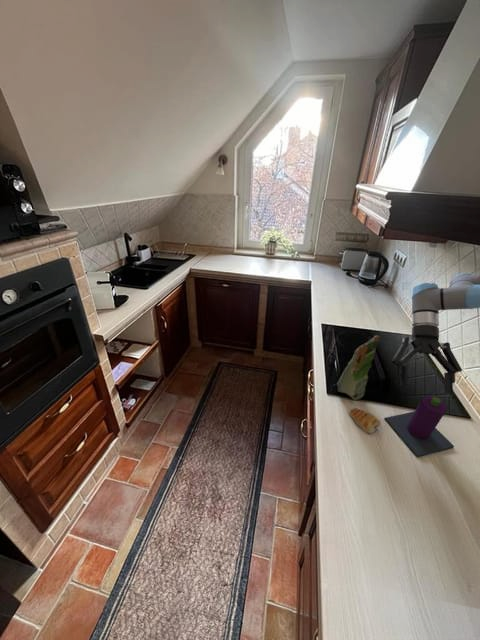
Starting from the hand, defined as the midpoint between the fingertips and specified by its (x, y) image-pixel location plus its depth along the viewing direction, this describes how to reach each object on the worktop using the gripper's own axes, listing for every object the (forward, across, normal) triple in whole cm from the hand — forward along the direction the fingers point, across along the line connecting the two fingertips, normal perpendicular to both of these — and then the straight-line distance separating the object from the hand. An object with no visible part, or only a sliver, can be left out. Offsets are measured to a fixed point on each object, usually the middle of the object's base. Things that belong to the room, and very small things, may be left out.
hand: (425, 389), depth 83 cm
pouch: (+4, +19, -15) cm, 25 cm away
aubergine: (+14, 0, -4) cm, 14 cm away
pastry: (+14, +17, -5) cm, 22 cm away
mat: (+14, 0, -5) cm, 15 cm away
